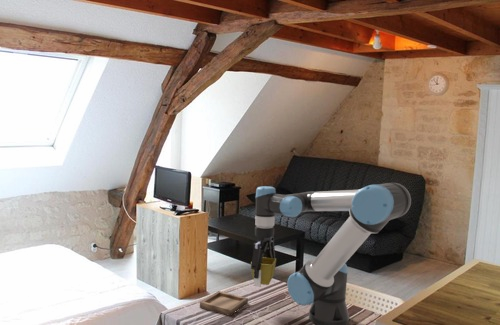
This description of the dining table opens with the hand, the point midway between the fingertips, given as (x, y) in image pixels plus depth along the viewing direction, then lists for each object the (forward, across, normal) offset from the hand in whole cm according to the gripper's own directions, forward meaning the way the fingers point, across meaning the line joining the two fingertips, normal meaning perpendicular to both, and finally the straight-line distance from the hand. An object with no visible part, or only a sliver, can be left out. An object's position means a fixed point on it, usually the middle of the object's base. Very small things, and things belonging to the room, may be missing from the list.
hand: (263, 282), depth 184 cm
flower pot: (0, 0, 0) cm, 0 cm away
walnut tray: (+11, +5, -15) cm, 19 cm away
